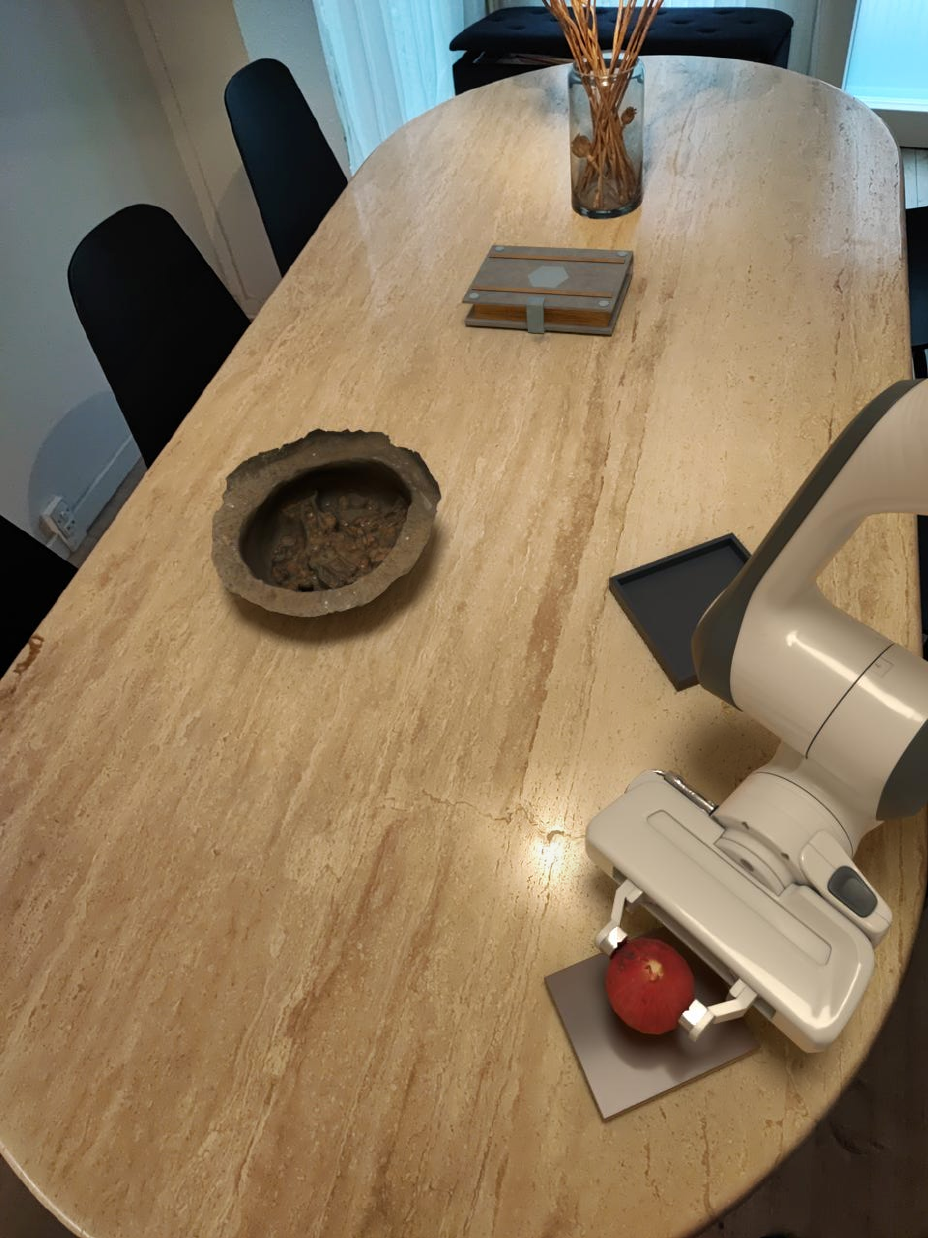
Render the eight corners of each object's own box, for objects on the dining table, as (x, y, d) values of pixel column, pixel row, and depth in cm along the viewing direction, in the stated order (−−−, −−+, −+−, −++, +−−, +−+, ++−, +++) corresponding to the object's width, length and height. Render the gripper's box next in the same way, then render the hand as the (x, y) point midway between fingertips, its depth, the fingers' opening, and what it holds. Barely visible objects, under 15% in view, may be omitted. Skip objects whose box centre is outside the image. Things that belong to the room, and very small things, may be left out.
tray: (811, 639, 81) (814, 628, 80) (677, 692, 79) (679, 681, 78) (730, 543, 90) (732, 531, 89) (608, 588, 88) (608, 577, 87)
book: (633, 274, 125) (634, 241, 121) (610, 338, 116) (611, 305, 112) (496, 267, 131) (493, 236, 127) (464, 328, 122) (460, 296, 118)
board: (758, 1051, 60) (761, 1047, 59) (603, 1123, 58) (603, 1120, 57) (686, 920, 66) (687, 915, 65) (544, 982, 64) (543, 977, 64)
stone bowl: (384, 453, 106) (372, 394, 98) (487, 588, 92) (482, 531, 85) (196, 536, 100) (169, 479, 92) (277, 692, 86) (252, 641, 79)
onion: (588, 996, 61) (587, 961, 54) (644, 941, 62) (649, 901, 56) (650, 1064, 57) (656, 1035, 51) (707, 1004, 59) (719, 969, 53)
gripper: (658, 737, 64) (527, 863, 59) (918, 934, 53) (784, 1108, 48) (653, 777, 69) (532, 897, 64) (890, 965, 58) (767, 1126, 53)
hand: (643, 990), depth 56 cm, fingers closed on onion, 6 cm apart
